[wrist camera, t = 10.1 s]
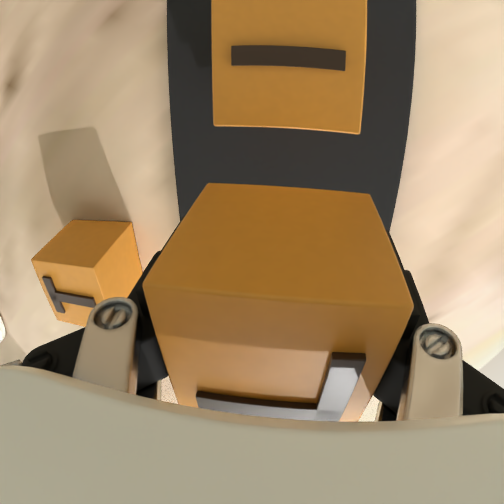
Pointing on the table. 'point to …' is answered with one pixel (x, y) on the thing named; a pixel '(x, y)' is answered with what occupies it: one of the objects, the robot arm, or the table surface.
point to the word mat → (285, 139)
